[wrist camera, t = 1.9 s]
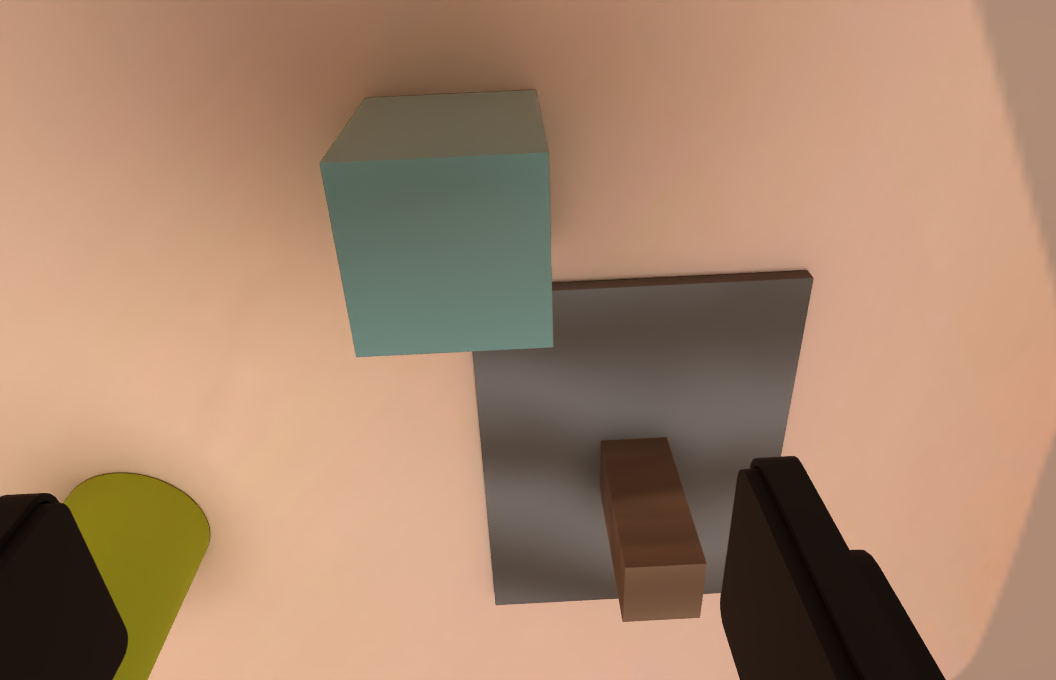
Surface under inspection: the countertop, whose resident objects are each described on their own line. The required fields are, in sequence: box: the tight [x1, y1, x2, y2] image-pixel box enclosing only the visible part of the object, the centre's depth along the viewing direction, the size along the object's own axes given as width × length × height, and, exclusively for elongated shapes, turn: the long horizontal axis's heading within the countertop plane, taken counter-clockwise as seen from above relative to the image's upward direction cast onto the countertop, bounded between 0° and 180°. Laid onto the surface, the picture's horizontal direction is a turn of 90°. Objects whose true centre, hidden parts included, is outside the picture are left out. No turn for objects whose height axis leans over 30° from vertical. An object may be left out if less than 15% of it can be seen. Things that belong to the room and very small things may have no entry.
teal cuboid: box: [320, 90, 553, 357], centre depth 21 cm, size 5×5×7 cm
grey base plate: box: [473, 270, 813, 622], centre depth 27 cm, size 16×12×7 cm
